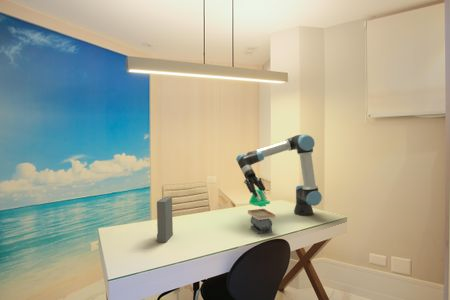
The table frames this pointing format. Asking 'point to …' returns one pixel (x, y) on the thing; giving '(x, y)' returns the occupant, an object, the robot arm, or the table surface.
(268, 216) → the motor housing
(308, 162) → the robot arm
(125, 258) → the table surface
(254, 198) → the green piece
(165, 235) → the grey upright slab
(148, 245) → the table surface
